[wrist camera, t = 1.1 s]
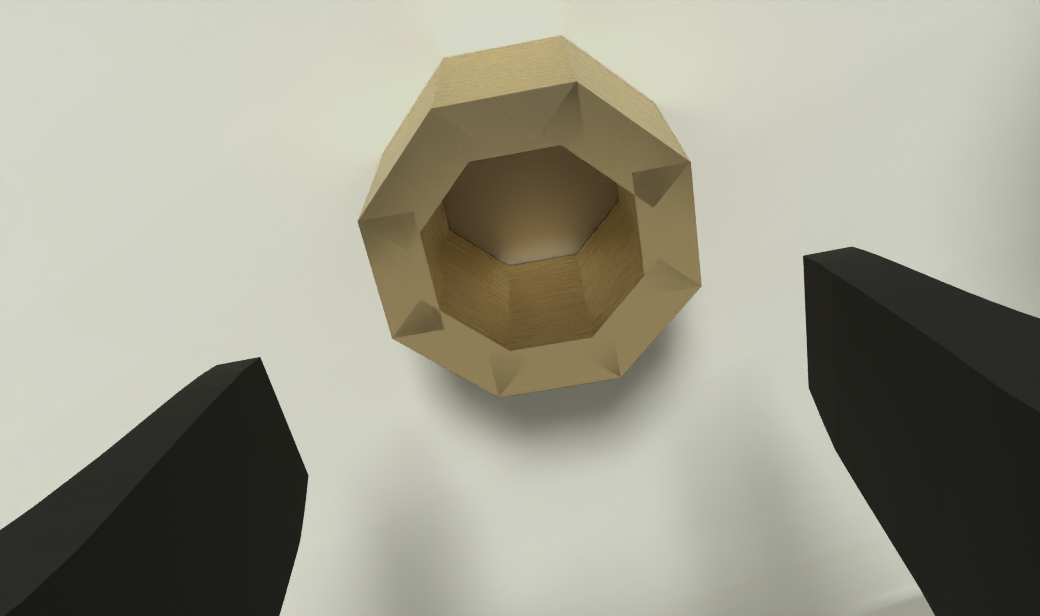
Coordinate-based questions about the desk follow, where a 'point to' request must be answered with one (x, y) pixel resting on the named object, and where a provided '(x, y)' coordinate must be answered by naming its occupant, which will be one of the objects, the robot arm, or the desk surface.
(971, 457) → the robot arm
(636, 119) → the wooden ring
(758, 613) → the desk surface
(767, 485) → the desk surface
